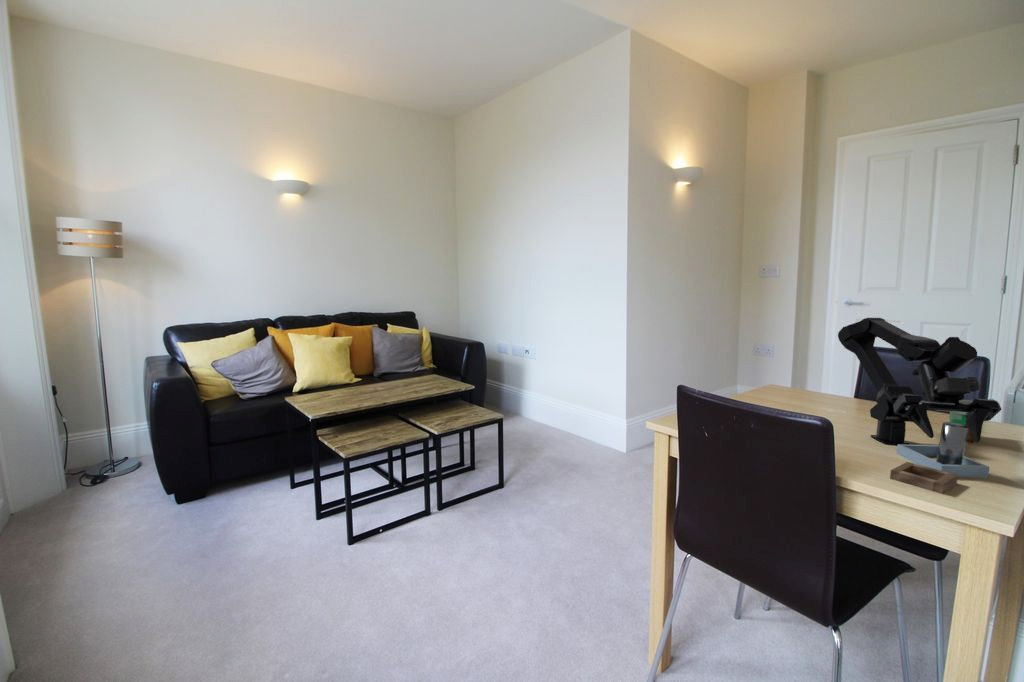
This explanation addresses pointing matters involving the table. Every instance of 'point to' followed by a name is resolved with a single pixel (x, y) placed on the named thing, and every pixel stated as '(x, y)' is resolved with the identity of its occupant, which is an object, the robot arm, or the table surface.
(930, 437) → the robot arm
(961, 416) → the food container
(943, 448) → the metallic grey cylinder
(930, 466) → the tray
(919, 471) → the socket block
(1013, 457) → the table surface
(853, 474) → the table surface
